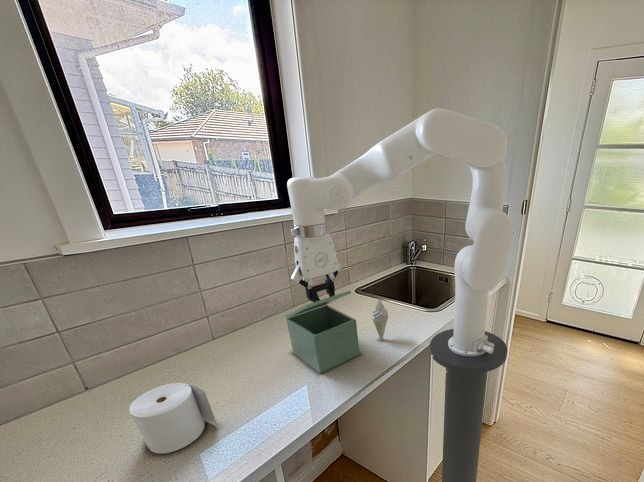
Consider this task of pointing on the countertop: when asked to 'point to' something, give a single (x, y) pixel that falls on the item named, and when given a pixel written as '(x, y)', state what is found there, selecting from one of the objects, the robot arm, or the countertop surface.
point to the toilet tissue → (171, 416)
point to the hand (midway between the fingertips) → (321, 297)
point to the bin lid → (319, 302)
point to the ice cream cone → (380, 318)
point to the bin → (323, 337)
